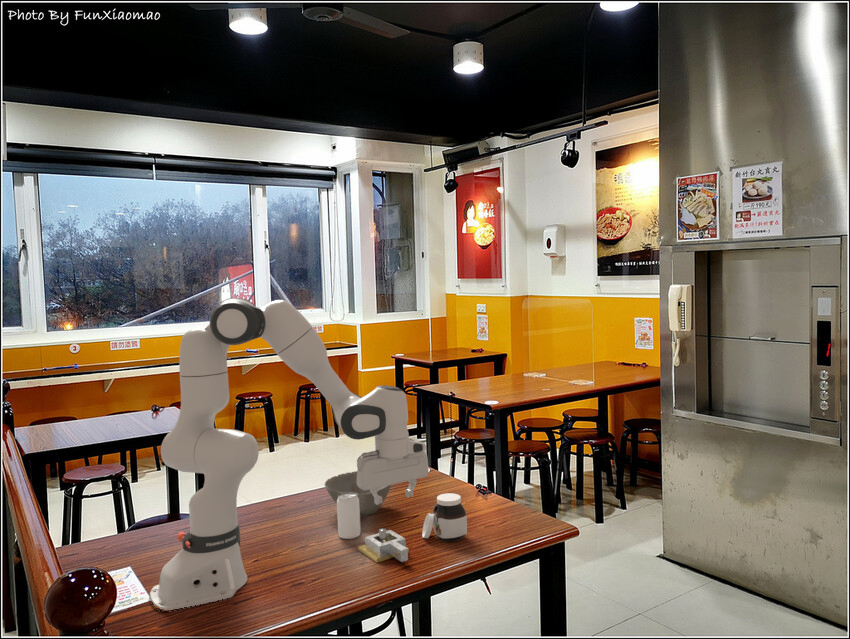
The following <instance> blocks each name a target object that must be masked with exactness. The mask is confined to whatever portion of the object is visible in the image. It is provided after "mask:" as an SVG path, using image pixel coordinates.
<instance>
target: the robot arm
mask: <svg viewBox="0 0 850 639" xmlns="http://www.w3.org/2000/svg"><path fill="white" fill-rule="evenodd" d="M258 338H261V339H262V340H264V341H265V342H267V343H268V345H269V346H270V347H271V349H272V350H273V351H274V352H275V353H276V355H277V356H278V357H279V358H280V359H281V361H282V362H283V363H284V364H285V365H286V366H288V367H289V369H291V370H292V371H293V372H295V374H298V375H300V376H302V377H305V378H306V379H308V380H309V381H310V382H311V383H312V384H314V386H315V387H316V389H317V390H318V391H319V392H320V393H321V395H322V396H323V397H324V398H325V400H326V401H327V402H328V404H329V406H330V407H331V409H332V410H331V411H332V415H333V418H334V422H335V423H336V425H337V426H338V427H339V428H340V429H341V431H342V432H343V434H345V435H346V437H348V438H349V439H353V440H356V441H357V440H364V439H368V438H372V437H374V442H375V443H374V446H375V447H374V448H375V449H374V450H372V451H368V452H363V453H361V454H360V455H359V456H358V457H357V458H356V467H357V486H358V487H359V488H360V489H362V490H370V492H371V493H372V495H373V496H374V503H375V504H376V505H379V504H382V503H383V504H384V502H383V501H382V497H380V496H378V494H377V492H378V488H379V487H383V486H388V485H392V486H393V485H396V484H401V483H404V482H405V483H406V482H408V487H407V488H405V489H404V492H405V494H404V495H405V497H406V498H411V497H412V498H413V497H414V490H415V488H416V485H417V480H418V479H424V478H426V477H427V476H428V474H429V459H428V454H427V453H426V449H427V446H426V443H424V442H421V441H419V440H415V439H413V438H410V435H409V434H410V433H409V430H408V422H409V410H408V409H409V408H408V400H407V396H406V392H404V390H403V389H401V388H399V387H397V386H393V385H378V386H376V387H375V388H374V389H373V390H372V391H370V392H369V393H367V394H366V395H364V396H360V395H358V394H357V393H355V392H352V391H351V390H350V389H349V388H348V387H347V385H346V384H345V383H344V382H343V380H342V379H341V378H340V377H339V376H338V374H337V373H336V372H335V370H334V369H333V367H332V365H331V363H330V361H329V358H328V351H327V348H326V346H325V344H324V342H323V340H322V339H321V336H320V335H319V334H318V332H317V331H316V329H315V328H314V326H312V324H311V323H310V322H309V321H308V320H307V318H306V317H305V316H304V315H303V314H302V313H301V312H300V311H299V310H298V309H297V308H296V307H295V306H294V305H292V304H291V303H290V302H289V301H287V300H286V299H285V300H284V299H275V300H271V301H270V302H268V303H266V304H264V305H263V306H262V307H257V306H256V305H255V304H254V303H253V302H251V301H250V300H248V299H246V298H243V297H230V298H226V299H225V300H222V301H221V302H220V303H218V305H217V306H216V307H214V309H213V310H212V312H211V314H210V319H209V324H208V325H206V326H202V327H195V328H193V329H190V330H188V331H187V332H185V333H184V334H183V335H182V338H181V342H180V347H179V361H178V362H179V382H180V410H179V416H178V418H177V421H176V423H175V425H174V427H173V428H172V429H171V430H170V432H168V433H167V434H166V436H164V438H163V440H162V443H161V444H160V445H161V446H160V456H161V460H162V463H164V465H165V466H166V467H169V468H171V469H174V470H176V471H179V472H182V473H183V472H184V473H190V474H191V473H193V474H194V473H195V474H203V475H204V483H203V487H202V488H200V489H199V490H197V491H196V492H195V493H194V494H193V495H192V496H191V498H190V500H189V501H188V510H189V511H188V512H189V513H188V514H189V515H188V516H189V528H190V529H189V531H188V532H187V533H185V532H184V531H180V532H178V533H177V534H176V539H177V541H179V542H180V543H182V549H180V550H179V551H178V552H177V553H176V555H174V556H173V557H172V558H171V559H170V560H169V561H167V563H166V564H165V565H164V566H163V567H162V569H161V571H160V575H159V580H158V581H159V582H158V584H156V585H155V586H154V585H153V587H152V588H151V590H150V592H149V600H150V599H151V601H152V602H153V604H154V605H155V606H157V607H159V608H160V609H164V610H173V609H179V608H183V609H185V608H184V607H187V608H191V607H190V606H192V607H196V606H200V604H201V605H203V604H204V605H206V604H209V602H210V603H212V602H217V601H218V600H219V601H222V599H223V600H227V598H228V599H230V598H232V597H233V596H235V594H236V592H237V591H238V590H239V589H241V588H242V587H243V586H244V585H245V584H246V583H247V582H248V574H247V573H246V569H245V568H244V567H245V566H244V564H243V559H242V554H241V548H240V546H241V529H240V524H239V523H238V511H237V510H238V509H237V507H238V506H237V503H238V502H237V501H238V500H237V497H238V491H239V488H240V485H241V482H242V480H243V479H244V477H245V476H246V475H247V474H248V473H249V472H250V471H252V470H253V469H254V467H255V465H256V464H257V461H258V458H259V455H260V454H259V453H260V449H259V444H258V441H257V440H256V438H255V436H253V435H252V434H250V433H248V432H244V431H241V430H238V429H231V428H230V429H227V428H215V418H216V415H217V414H218V413H219V412H221V411H222V410H224V409H225V408H226V407H227V406H228V404H229V402H230V388H229V374H228V372H229V371H228V355H227V354H228V351H229V348H230V347H231V346H238V345H242V344H245V343H246V344H247V343H248V342H251V341H253V340H255V339H258ZM383 504H382V505H383ZM151 601H150V602H151ZM195 605H196V606H195ZM179 610H180V609H179Z"/></svg>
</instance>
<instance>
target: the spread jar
mask: <svg viewBox="0 0 850 639" xmlns="http://www.w3.org/2000/svg"><path fill="white" fill-rule="evenodd" d="M461 502H462V497H461V495H460V494H458V493H449V492H448V493H442V494H439V495H437V497H436V504H435V505H434V506H433V510H432V513H430V512H429V513H427V514H426V516H425V518H424V521H423V526H422V532H421V533H422V534H421V535H422V536H421V537H422V538H424V539H429V537H430V536H431V534H432V533H431V532H432V529H433V531H434V534H435V536H436V538H437V539H438V540H440V541H441V542H445V543H455V542H458V541H461V540H462V539H463V538H465V536H466V535H467V533H468V520H467V519H468V518H467V511H466V509H465V507H464V505H463V504H462V503H461Z"/></svg>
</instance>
